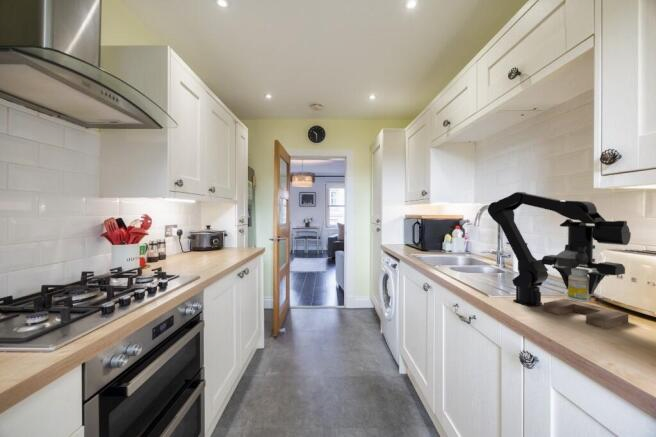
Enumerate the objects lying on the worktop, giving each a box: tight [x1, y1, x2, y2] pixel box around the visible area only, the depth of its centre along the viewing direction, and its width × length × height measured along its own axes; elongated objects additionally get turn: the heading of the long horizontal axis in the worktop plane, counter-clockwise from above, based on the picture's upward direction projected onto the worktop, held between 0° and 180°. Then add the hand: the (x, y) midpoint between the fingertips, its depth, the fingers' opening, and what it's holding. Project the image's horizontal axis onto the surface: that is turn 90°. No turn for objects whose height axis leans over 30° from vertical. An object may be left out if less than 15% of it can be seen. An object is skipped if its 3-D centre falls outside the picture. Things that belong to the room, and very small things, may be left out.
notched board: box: [542, 298, 629, 330], centre depth 87 cm, size 16×12×2 cm
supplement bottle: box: [567, 267, 592, 303], centre depth 86 cm, size 5×5×10 cm
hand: (579, 291), depth 87 cm, fingers closed on supplement bottle, 5 cm apart
